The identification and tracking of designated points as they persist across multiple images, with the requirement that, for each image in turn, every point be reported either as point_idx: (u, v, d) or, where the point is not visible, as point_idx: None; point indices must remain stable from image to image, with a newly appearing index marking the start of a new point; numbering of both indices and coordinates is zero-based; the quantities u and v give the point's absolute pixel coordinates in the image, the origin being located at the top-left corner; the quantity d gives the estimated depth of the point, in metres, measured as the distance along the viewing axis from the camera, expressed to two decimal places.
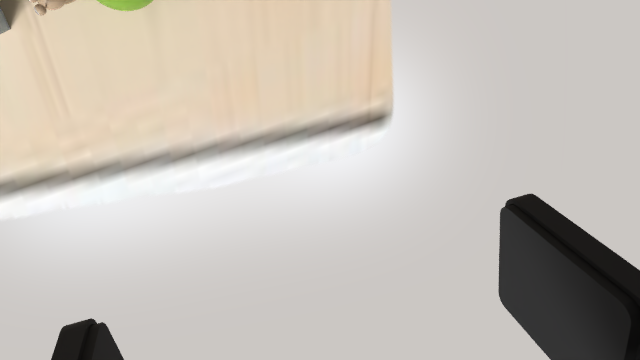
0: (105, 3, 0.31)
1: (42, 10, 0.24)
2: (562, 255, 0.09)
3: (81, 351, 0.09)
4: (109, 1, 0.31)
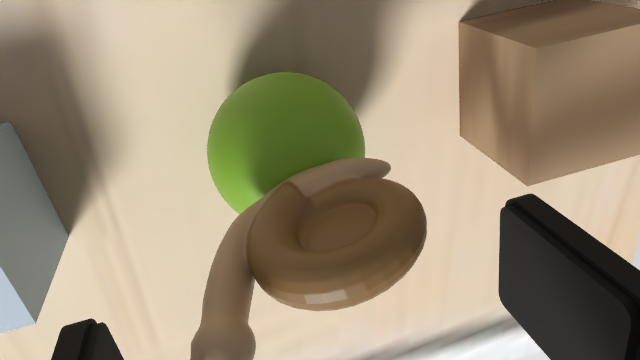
0: None
1: None
2: (562, 255, 0.09)
3: (81, 351, 0.09)
4: None
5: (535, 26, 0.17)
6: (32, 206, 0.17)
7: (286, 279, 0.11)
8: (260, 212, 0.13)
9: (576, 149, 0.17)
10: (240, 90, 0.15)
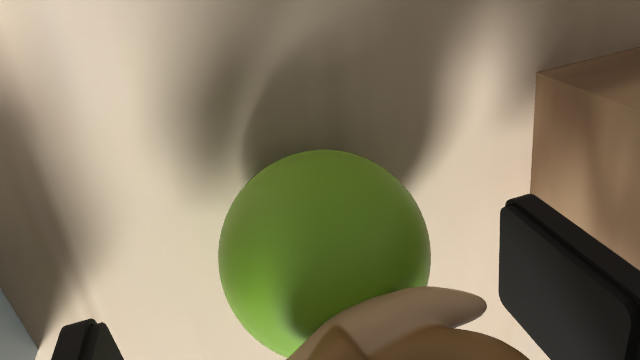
0: None
1: None
2: (562, 255, 0.09)
3: (81, 351, 0.09)
4: None
5: None
6: None
7: None
8: None
9: None
10: (264, 180, 0.11)
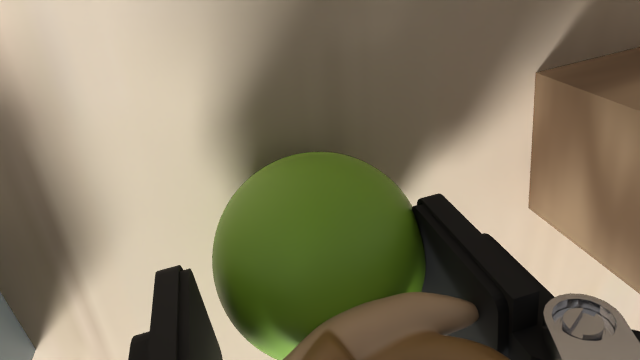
0: None
1: None
2: (452, 251, 0.10)
3: (178, 290, 0.10)
4: None
5: None
6: None
7: None
8: None
9: None
10: (258, 183, 0.11)
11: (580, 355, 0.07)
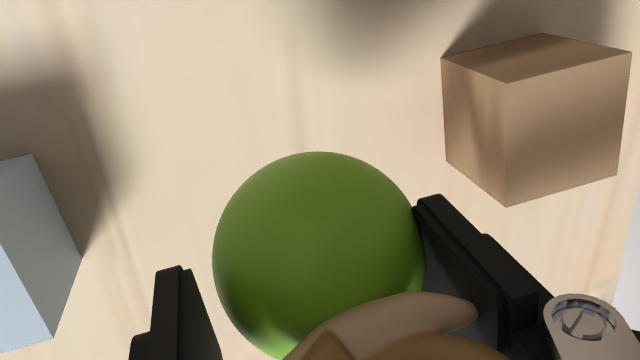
0: None
1: None
2: (452, 251, 0.10)
3: (178, 289, 0.10)
4: None
5: (508, 62, 0.19)
6: (51, 230, 0.18)
7: None
8: None
9: (549, 173, 0.19)
10: (258, 182, 0.11)
11: (580, 355, 0.07)
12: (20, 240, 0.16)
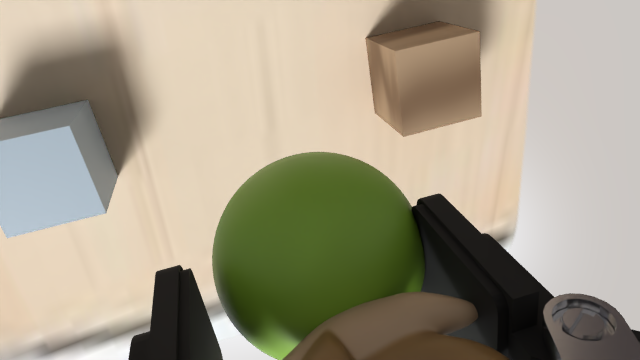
0: None
1: None
2: (452, 251, 0.10)
3: (178, 290, 0.10)
4: None
5: (404, 39, 0.28)
6: (100, 150, 0.28)
7: None
8: None
9: (432, 113, 0.28)
10: (258, 183, 0.11)
11: (580, 355, 0.07)
12: (86, 149, 0.25)
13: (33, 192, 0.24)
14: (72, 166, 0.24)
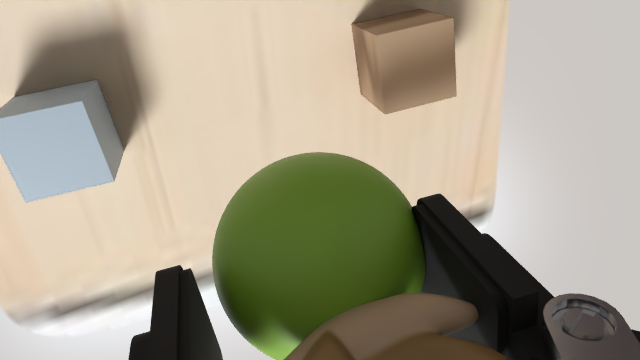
0: None
1: None
2: (452, 251, 0.10)
3: (178, 289, 0.10)
4: None
5: (385, 25, 0.31)
6: (108, 126, 0.30)
7: None
8: None
9: (411, 93, 0.31)
10: (258, 183, 0.11)
11: (580, 355, 0.07)
12: (96, 123, 0.28)
13: (49, 161, 0.27)
14: (84, 137, 0.27)
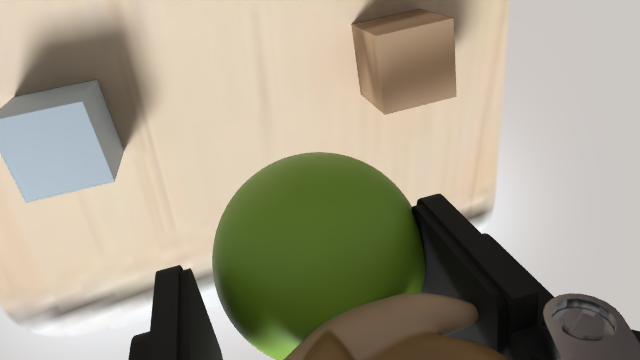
0: None
1: None
2: (452, 251, 0.10)
3: (178, 289, 0.10)
4: None
5: (385, 25, 0.31)
6: (108, 126, 0.30)
7: None
8: None
9: (410, 93, 0.31)
10: (258, 183, 0.11)
11: (580, 355, 0.07)
12: (97, 123, 0.28)
13: (50, 162, 0.27)
14: (84, 138, 0.27)
